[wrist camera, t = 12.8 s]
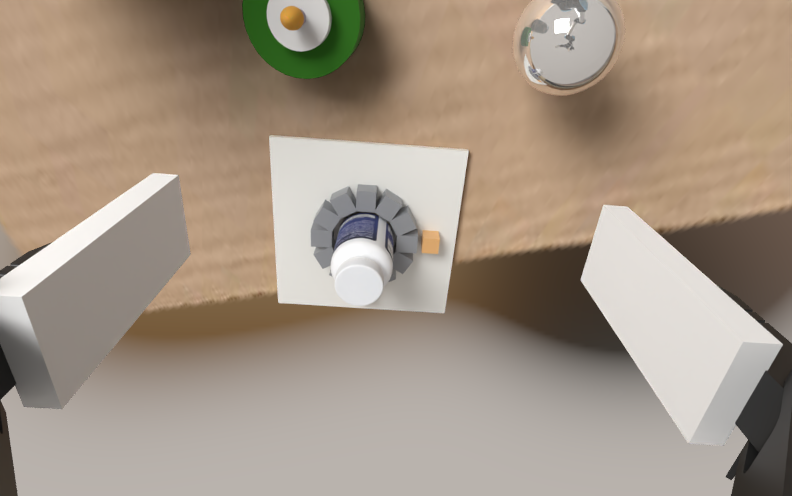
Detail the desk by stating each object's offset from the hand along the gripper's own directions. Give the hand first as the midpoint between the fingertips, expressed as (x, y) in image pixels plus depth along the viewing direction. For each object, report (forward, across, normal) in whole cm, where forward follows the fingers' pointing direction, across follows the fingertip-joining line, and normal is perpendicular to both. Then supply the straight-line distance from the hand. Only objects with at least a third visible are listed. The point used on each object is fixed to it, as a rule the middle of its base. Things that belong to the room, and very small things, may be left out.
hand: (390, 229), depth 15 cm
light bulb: (+29, +11, +5) cm, 31 cm away
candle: (+29, -7, +5) cm, 30 cm away
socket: (+29, -2, -14) cm, 32 cm away
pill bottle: (+28, -2, -14) cm, 32 cm away
